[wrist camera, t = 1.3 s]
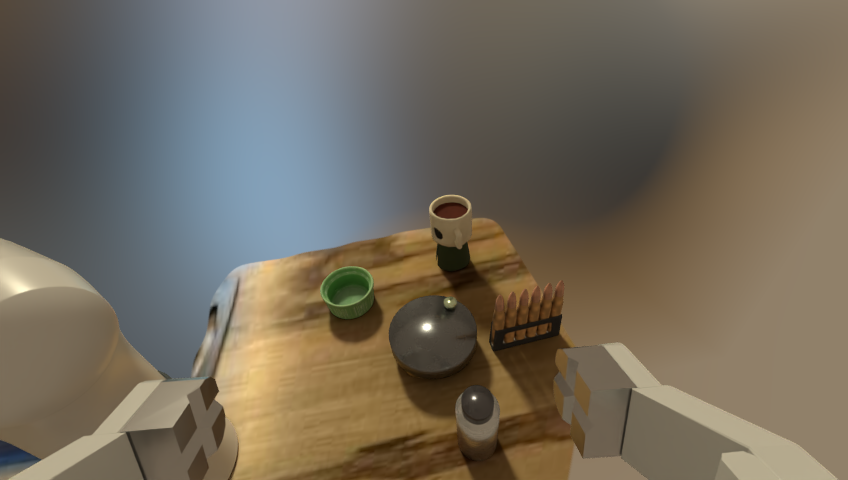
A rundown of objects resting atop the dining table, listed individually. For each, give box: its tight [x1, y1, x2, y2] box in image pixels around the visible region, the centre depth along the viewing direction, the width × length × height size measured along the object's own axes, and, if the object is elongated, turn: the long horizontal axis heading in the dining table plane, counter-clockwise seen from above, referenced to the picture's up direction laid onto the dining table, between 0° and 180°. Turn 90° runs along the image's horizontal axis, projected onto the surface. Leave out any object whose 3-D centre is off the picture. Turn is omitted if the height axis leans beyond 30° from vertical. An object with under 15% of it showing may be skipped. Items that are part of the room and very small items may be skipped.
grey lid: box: [389, 296, 477, 379], centre depth 61 cm, size 13×13×5 cm
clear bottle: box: [455, 385, 500, 461], centre depth 48 cm, size 5×5×11 cm
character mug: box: [429, 195, 472, 271], centre depth 71 cm, size 11×7×13 cm, turn 12°
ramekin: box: [320, 266, 374, 319], centre depth 69 cm, size 9×9×4 cm
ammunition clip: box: [489, 280, 564, 351], centre depth 58 cm, size 11×2×12 cm, turn 102°
